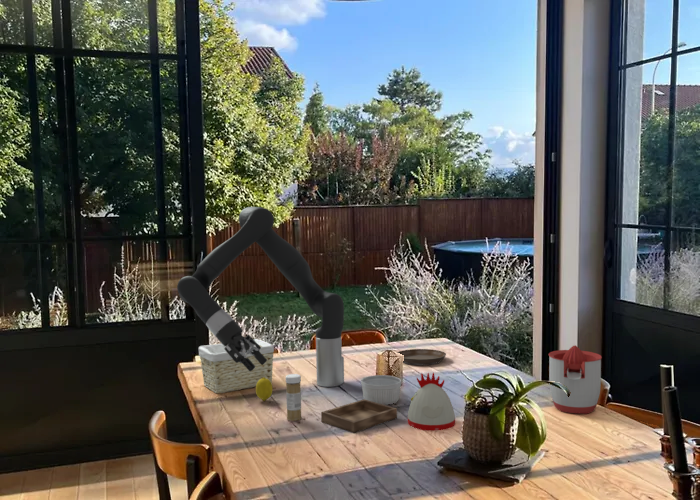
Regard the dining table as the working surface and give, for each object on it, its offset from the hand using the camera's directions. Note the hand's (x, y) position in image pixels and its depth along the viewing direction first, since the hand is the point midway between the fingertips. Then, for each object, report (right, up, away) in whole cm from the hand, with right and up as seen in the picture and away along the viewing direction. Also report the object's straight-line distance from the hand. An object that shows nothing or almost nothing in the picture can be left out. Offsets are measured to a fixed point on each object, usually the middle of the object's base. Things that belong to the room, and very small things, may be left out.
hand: (259, 366), depth 200 cm
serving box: (+31, -15, -4) cm, 35 cm away
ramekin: (+38, -14, +15) cm, 44 cm away
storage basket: (-13, -14, +38) cm, 42 cm away
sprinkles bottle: (+11, -16, -2) cm, 19 cm away
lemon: (-1, -15, +17) cm, 23 cm away
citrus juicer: (+97, -14, +2) cm, 98 cm away
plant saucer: (+57, -11, +71) cm, 92 cm away
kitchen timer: (+52, -16, -8) cm, 55 cm away
